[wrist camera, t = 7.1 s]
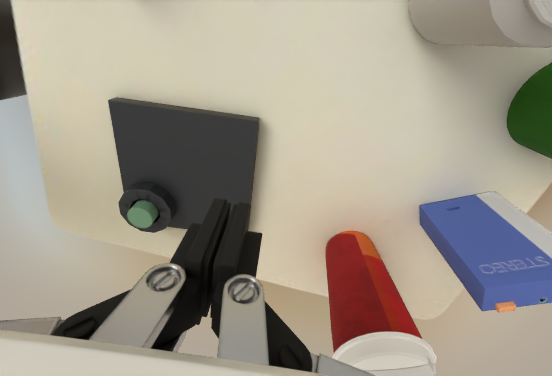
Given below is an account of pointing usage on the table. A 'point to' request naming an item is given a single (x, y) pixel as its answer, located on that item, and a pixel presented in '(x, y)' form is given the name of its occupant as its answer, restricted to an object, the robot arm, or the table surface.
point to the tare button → (142, 214)
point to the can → (484, 22)
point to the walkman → (492, 249)
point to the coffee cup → (371, 313)
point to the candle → (533, 113)
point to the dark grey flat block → (182, 159)
